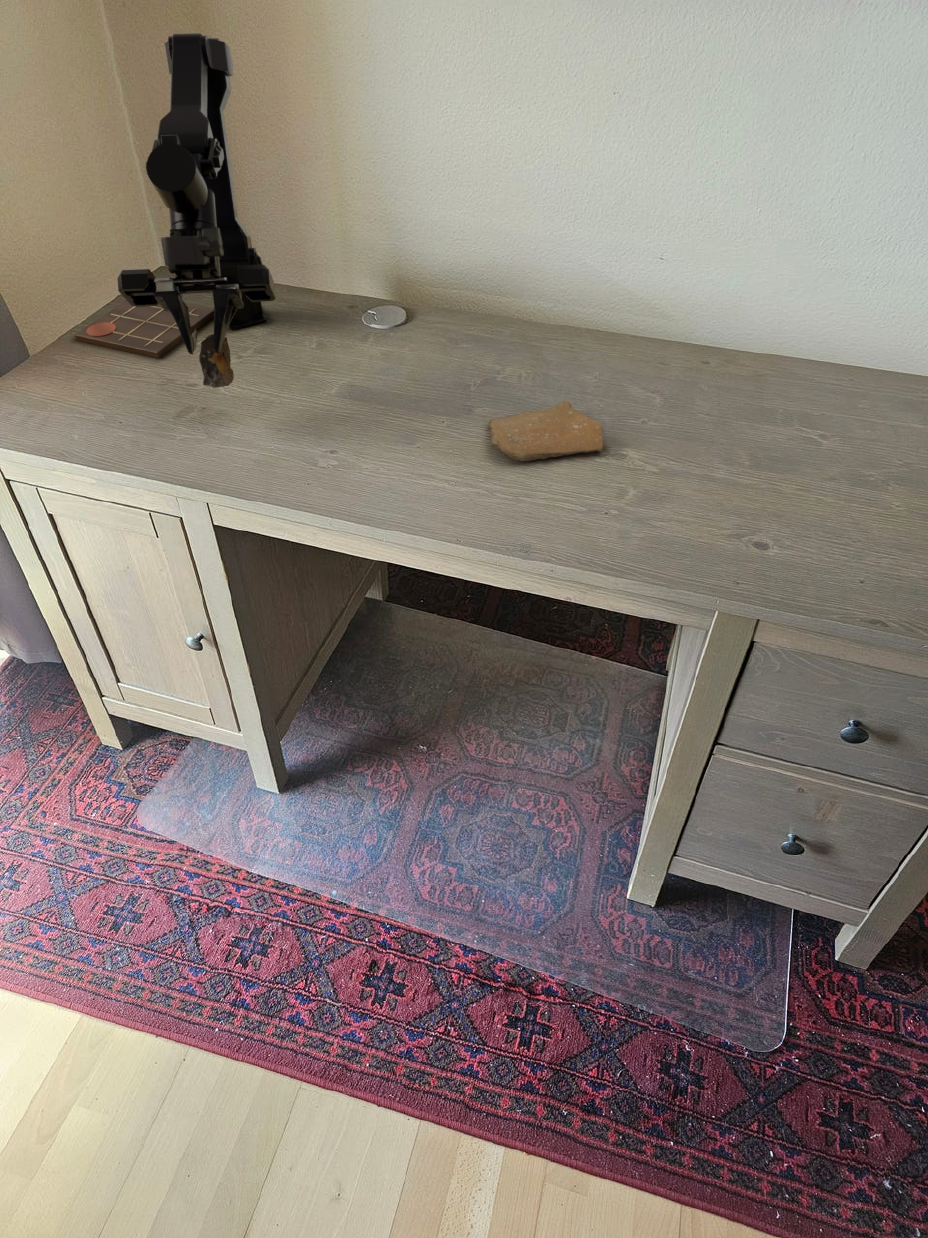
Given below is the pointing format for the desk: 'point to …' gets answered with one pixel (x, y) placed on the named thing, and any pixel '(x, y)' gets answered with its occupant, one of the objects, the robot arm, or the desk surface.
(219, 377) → the rock
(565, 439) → the stone
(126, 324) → the board
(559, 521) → the desk surface
